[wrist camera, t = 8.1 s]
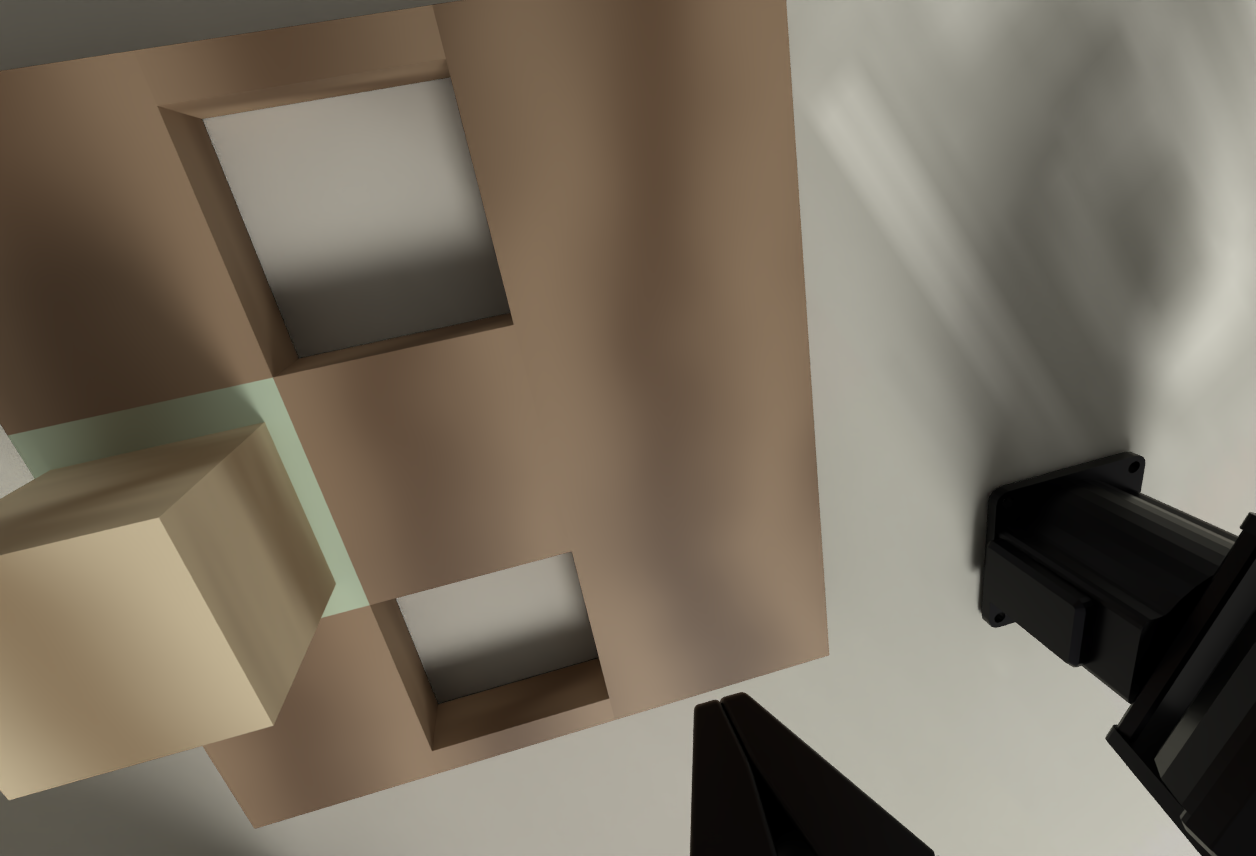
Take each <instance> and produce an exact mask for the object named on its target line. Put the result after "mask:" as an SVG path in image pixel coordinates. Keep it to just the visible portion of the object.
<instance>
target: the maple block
mask: <svg viewBox="0 0 1256 856" xmlns="http://www.w3.org/2000/svg"><path fill="white" fill-rule="evenodd" d="M335 585H336V582H335V580H334V578H333V575H332V573H331V571H330V569H329V566H328V564H327V562H326V560H325V557H324V555H323V553H322V550H321V548H320V546H319V544H318V541H317V539H316V537H315V535H314V532H313V530H312V528H311V526H310V523H309V521H308V519H307V517H306V514H305V512H304V510H303V507H302V505H301V503H300V501H299V498H298V496H297V494H296V492H295V489H294V487H293V485H292V483H291V480H290V478H289V476H288V474H287V471H286V469H285V467H284V465H283V462H282V460H281V458H280V455H279V453H278V451H277V449H276V446H275V444H274V442H273V440H272V437H271V435H270V433H269V431H268V428H267V426H266V424H265V422H263V423H258V424H254V425H249V426H245V427H240V428H236V429H231V430H227V431H223V432H218V433H214V434H209V435H205V436H200V437H196V438H191V439H187V440H182V441H178V442H174V443H169V444H165V445H160V446H156V447H151V448H147V449H142V450H138V451H133V452H129V453H125V454H120V455H116V456H111V457H107V458H102V459H98V460H93V461H89V462H84V463H80V464H76V465H71V466H67V467H62V468H58V469H53V470H49V471H48V472H46V473H44V474H43V475H41V476H39V477H37V478H36V479H34V480H32V481H31V482H29V483H27V484H25V485H24V486H22V487H20V488H18V489H17V490H15V491H13V492H12V493H10V494H8V495H6V496H5V497H3V498H1V499H0V790H1V792H2V793H3V794H4V795H5V796H6V798H7V799H8V800H12V799H15V798H19V797H22V796H26V795H30V794H33V793H37V792H40V791H44V790H47V789H51V788H54V787H58V786H61V785H65V784H69V783H72V782H76V781H79V780H83V779H86V778H90V777H93V776H97V775H100V774H104V773H107V772H111V771H115V770H118V769H122V768H125V767H129V766H132V765H136V764H139V763H143V762H146V761H150V760H154V759H157V758H161V757H164V756H168V755H171V754H175V753H178V752H182V751H185V750H189V749H193V748H196V747H200V746H203V745H207V744H210V743H214V742H217V741H221V740H224V739H228V738H232V737H235V736H239V735H242V734H246V733H249V732H253V731H256V730H260V729H263V728H267V727H270V726H274V723H275V721H276V719H277V717H278V714H279V712H280V710H281V708H282V705H283V703H284V701H285V699H286V696H287V694H288V692H289V689H290V687H291V685H292V683H293V680H294V678H295V676H296V674H297V671H298V669H299V667H300V665H301V662H302V660H303V658H304V656H305V653H306V651H307V649H308V647H309V644H310V642H311V640H312V637H313V635H314V633H315V631H316V628H317V626H318V624H319V622H320V619H321V617H322V615H323V613H324V610H325V608H326V606H327V604H328V601H329V599H330V597H331V595H332V592H333V590H334V588H335Z"/></svg>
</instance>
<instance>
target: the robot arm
mask: <svg viewBox="0 0 1256 856" xmlns="http://www.w3.org/2000/svg"><path fill="white" fill-rule="evenodd" d="M1144 468H1145V459H1144V457H1142V456H1140V455H1138V454H1135V453H1132V452H1124V453H1120V454H1116V455H1113V456H1109V457H1106V458H1102V459H1098V460H1095V461H1091V462H1088V463H1084V464H1080V465H1077V466H1073V467H1069V468H1066V469H1062V470H1059V471H1055V472H1051V473H1048V474H1044V475H1041V476H1037V477H1033V478H1030V479H1026V480H1022V481H1019V482H1015V483H1012V484H1008V485H1004V486H1001V487H999V488H996V489H995V490H994V491H993V492H992V493H991V495H990V497H989V500H988V516H987V533H986V550H985V568H984V585H983V603H982V618H983V619H984V620H985V621H986V622H987V623H988V624H989V625H990V626H992V627H995V628H996V627H1001V626H1004V625H1007V624H1011V623H1014V622H1016V623H1017V624H1019V625H1020V626H1021V627H1022V628H1024V629H1025V630H1026V631H1027V632H1028V633H1030V634H1031V635H1032V636H1033V637H1035V638H1036V639H1037V640H1038V641H1040V642H1041V643H1042V644H1043V645H1045V646H1046V647H1047V648H1048V649H1049V650H1051V651H1052V652H1053V653H1054V654H1056V655H1057V656H1058V657H1059V658H1061V659H1062V660H1063V661H1064V662H1066V663H1067V664H1069V665H1071V666H1072V667H1079V666H1083V667H1084V668H1085V669H1087V670H1088V671H1089V672H1090V673H1092V674H1093V675H1094V676H1095V677H1097V678H1098V679H1099V680H1100V681H1102V682H1103V683H1104V684H1106V685H1107V686H1108V687H1109V688H1111V689H1112V690H1113V691H1114V692H1116V693H1117V694H1118V695H1119V696H1121V697H1122V698H1123V699H1124V700H1126V701H1127V702H1128V703H1130V704H1131V705H1130V707H1129V708H1128V710H1127V711H1126V713H1125V714H1124V716H1123V717H1122V719H1121V721H1120V722H1119V724H1118V725H1113V726H1112V728H1111V729H1110V731H1109V733H1108V734H1107V736H1106V738H1105V739H1106V740H1107V742H1108V743H1109V744H1110V745H1111V747H1112V748H1113V749H1114V750H1115V751H1116V753H1117V754H1118V755H1119V756H1120V757H1121V759H1122V760H1123V761H1124V762H1125V764H1126V765H1127V766H1128V767H1129V769H1130V770H1131V771H1132V772H1133V773H1134V775H1135V776H1136V777H1137V778H1138V779H1139V781H1140V782H1141V783H1142V784H1143V786H1144V787H1145V788H1146V789H1147V790H1148V792H1149V793H1150V794H1151V795H1152V796H1153V798H1154V799H1155V800H1156V801H1157V802H1158V804H1159V805H1160V806H1161V807H1162V809H1163V810H1164V811H1165V812H1166V813H1167V815H1168V816H1169V817H1170V818H1171V819H1172V821H1173V822H1174V823H1175V824H1176V826H1177V827H1178V828H1179V829H1180V830H1181V832H1182V833H1183V834H1184V835H1185V836H1186V838H1187V839H1188V840H1189V841H1190V843H1191V844H1192V845H1193V846H1194V847H1195V849H1196V850H1197V851H1198V852H1199V853H1200V854H1201V855H1202V856H1256V513H1252V512H1249V513H1248V515H1247V517H1246V518H1245V520H1244V521H1243V523H1242V524H1241V526H1240V527H1239V528H1240V529H1242V532H1241V533H1240V535H1239V537H1238V536H1236V535H1234V534H1232V533H1229V532H1227V531H1225V530H1223V529H1221V528H1218V527H1216V526H1214V525H1212V524H1209V523H1207V522H1205V521H1203V520H1200V519H1198V518H1196V517H1194V516H1191V515H1189V514H1187V513H1185V512H1183V511H1180V510H1178V509H1176V508H1174V507H1171V506H1169V505H1167V504H1165V503H1162V502H1160V501H1158V500H1156V499H1153V498H1151V497H1149V496H1147V495H1145V494H1142V493H1140V492H1141V486H1142V480H1143V474H1144ZM1004 499H1005V500H1004ZM690 856H935V854H934V851H933V850H932V849H931V848H930V847H928V846H927V845H926V844H925V843H924V842H922V841H921V840H920V839H919V838H918V837H916V836H915V835H914V834H913V833H912V832H911V831H909V830H908V829H907V828H906V827H905V826H903V825H902V824H901V823H900V822H899V821H897V820H896V819H895V818H894V817H893V816H892V815H890V814H889V813H888V812H887V811H886V810H884V809H883V808H882V807H881V806H880V805H878V804H877V803H876V802H875V801H874V800H873V799H871V798H870V797H869V796H868V795H867V794H865V793H864V792H863V791H862V790H861V789H859V788H858V787H857V786H856V785H855V784H854V783H852V782H851V781H850V780H849V779H848V778H846V777H845V776H844V775H843V774H842V773H840V772H839V771H838V770H837V769H836V768H835V767H833V766H832V765H831V764H830V763H829V762H827V761H826V760H825V759H824V758H823V757H821V756H820V755H819V754H818V753H817V752H816V751H814V750H813V749H812V748H811V747H810V746H808V745H807V744H806V743H805V742H804V741H802V740H801V739H800V738H799V737H798V736H797V735H795V734H794V733H793V732H792V731H791V730H789V729H788V728H787V727H786V726H785V725H783V724H782V723H781V722H780V721H779V720H778V719H776V718H775V717H774V716H773V715H772V714H770V713H769V712H768V711H767V710H766V709H764V708H763V707H762V706H761V705H760V704H759V703H757V702H756V701H755V700H754V699H753V698H751V697H750V696H749V695H748V694H746V693H743V692H740V693H736V694H733V695H729V696H726V697H723V698H722V699H721V700H720V702H719V701H718V700H712V701H709V702H705V703H702V704H698V705H696V706H695V708H694V728H693V764H692V800H691V837H690Z"/></svg>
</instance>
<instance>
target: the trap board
mask: <svg viewBox="0 0 1256 856" xmlns="http://www.w3.org/2000/svg"><path fill="white" fill-rule="evenodd" d="M449 77H451V81H452V85H453V89H454V93H455V96H456V100H457V104H458V108H459V112H460V116H461V120H462V124H463V128H464V132H465V136H466V139H467V143H468V147H469V151H470V155H471V159H472V163H473V167H474V171H475V175H476V179H477V182H478V186H479V190H480V194H481V198H482V202H483V206H484V210H485V214H486V218H487V222H488V226H489V229H490V233H491V237H492V241H493V245H494V249H495V253H496V257H497V261H498V265H499V269H500V272H501V276H502V280H503V284H504V288H505V292H506V296H507V300H508V304H509V308H510V312H511V313H507V314H503V315H498V316H493V317H489V318H484V319H480V320H475V321H470V322H466V323H461V324H456V325H452V326H447V327H443V328H438V329H433V330H429V331H424V332H419V333H415V334H410V335H405V336H401V337H396V338H392V339H387V340H382V341H378V342H373V343H368V344H364V345H359V346H355V347H350V348H345V349H341V350H336V351H331V352H327V353H322V354H317V355H313V356H308V357H304V358H298V356H297V354H296V351H295V349H294V346H293V344H292V341H291V339H290V336H289V334H288V331H287V329H286V326H285V324H284V321H283V319H282V316H281V314H280V311H279V309H278V306H277V304H276V302H275V299H274V297H273V294H272V292H271V289H270V287H269V284H268V282H267V279H266V277H265V274H264V272H263V269H262V267H261V264H260V262H259V259H258V257H257V254H256V252H255V249H254V247H253V245H252V242H251V240H250V237H249V235H248V232H247V230H246V227H245V225H244V222H243V220H242V217H241V215H240V212H239V210H238V207H237V205H236V202H235V200H234V197H233V195H232V192H231V190H230V188H229V185H228V183H227V180H226V178H225V175H224V173H223V170H222V168H221V165H220V163H219V160H218V158H217V155H216V153H215V150H214V148H213V145H212V143H211V140H210V138H209V135H208V133H207V131H206V128H205V126H204V123H203V121H202V119H204V118H210V117H216V116H222V115H228V114H234V113H240V112H246V111H252V110H258V109H264V108H270V107H276V106H282V105H288V104H294V103H300V102H306V101H312V100H318V99H324V98H330V97H336V96H342V95H348V94H354V93H360V92H366V91H372V90H377V89H383V88H389V87H395V86H401V85H407V84H413V83H419V82H425V81H431V80H437V79H443V78H449ZM263 422H265V424H266V426H267V428H268V431H269V433H270V435H271V437H272V440H273V442H274V444H275V446H276V449H277V451H278V453H279V455H280V458H281V460H282V462H283V465H284V467H285V469H286V471H287V474H288V476H289V478H290V480H291V483H292V485H293V487H294V489H295V492H296V494H297V496H298V498H299V501H300V503H301V505H302V507H303V510H304V512H305V514H306V517H307V519H308V521H309V523H310V526H311V528H312V530H313V532H314V535H315V537H316V539H317V541H318V544H319V546H320V548H321V550H322V553H323V555H324V557H325V560H326V562H327V564H328V566H329V569H330V571H331V573H332V575H333V578H334V580H335V582H336V585H335V588H334V590H333V592H332V595H331V597H330V599H329V601H328V604H327V606H326V608H325V610H324V613H323V615H322V617H321V619H320V622H319V624H318V626H317V628H316V631H315V633H314V635H313V637H312V640H311V642H310V644H309V647H308V649H307V651H306V653H305V656H304V658H303V660H302V662H301V665H300V667H299V669H298V671H297V674H296V676H295V678H294V680H293V683H292V685H291V687H290V689H289V692H288V694H287V696H286V699H285V701H284V703H283V705H282V708H281V710H280V712H279V714H278V717H277V719H276V721H275V723H274V726H270V727H267V728H263V729H260V730H256V731H253V732H249V733H246V734H242V735H239V736H235V737H232V738H228V739H224V740H221V741H217V742H214V743H210V744H207V745H203V747H204V749H205V751H206V752H207V754H208V755H209V757H210V759H211V760H212V762H213V763H214V765H215V767H216V768H217V770H218V771H219V773H220V775H221V776H222V778H223V779H224V781H225V783H226V784H227V786H228V787H229V789H230V791H231V792H232V794H233V795H234V797H235V798H236V800H237V802H238V803H239V805H240V806H241V808H242V810H243V811H244V813H245V814H246V816H247V818H248V819H249V821H250V822H251V824H252V826H253V827H254V829H256V828H259V827H262V826H266V825H269V824H272V823H276V822H279V821H282V820H286V819H289V818H292V817H295V816H299V815H302V814H305V813H309V812H312V811H315V810H319V809H322V808H325V807H329V806H332V805H335V804H338V803H342V802H345V801H348V800H352V799H355V798H358V797H362V796H365V795H368V794H372V793H375V792H378V791H381V790H385V789H388V788H391V787H395V786H398V785H401V784H405V783H408V782H411V781H415V780H418V779H421V778H424V777H428V776H431V775H434V774H438V773H441V772H444V771H448V770H451V769H454V768H458V767H461V766H464V765H467V764H471V763H474V762H477V761H481V760H484V759H487V758H491V757H494V756H497V755H501V754H504V753H507V752H510V751H514V750H517V749H520V748H524V747H527V746H530V745H534V744H537V743H540V742H544V741H547V740H550V739H553V738H557V737H560V736H563V735H567V734H570V733H573V732H577V731H580V730H583V729H587V728H590V727H593V726H597V725H600V724H603V723H606V722H610V721H613V720H616V719H620V718H623V717H626V716H630V715H633V714H636V713H640V712H643V711H646V710H649V709H653V708H656V707H659V706H663V705H666V704H669V703H673V702H676V701H679V700H683V699H686V698H689V697H692V696H696V695H699V694H702V693H706V692H709V691H712V690H716V689H719V688H722V687H726V686H729V685H732V684H735V683H739V682H742V681H745V680H749V679H752V678H755V677H759V676H762V675H765V674H769V673H772V672H775V671H778V670H782V669H785V668H788V667H792V666H795V665H798V664H802V663H805V662H808V661H812V660H815V659H818V658H821V657H825V656H828V655H829V644H828V629H827V614H826V599H825V583H824V568H823V553H822V538H821V523H820V508H819V492H818V477H817V462H816V447H815V432H814V416H813V401H812V386H811V371H810V356H809V341H808V325H807V310H806V295H805V280H804V265H803V250H802V234H801V219H800V204H799V189H798V174H797V158H796V143H795V128H794V113H793V98H792V83H791V67H790V52H789V37H788V22H787V7H786V0H461V1H454V2H448V3H441V4H435V5H428V6H422V7H415V8H409V9H402V10H395V11H389V12H382V13H376V14H369V15H363V16H356V17H350V18H343V19H337V20H330V21H324V22H317V23H310V24H304V25H297V26H291V27H284V28H278V29H271V30H265V31H258V32H252V33H245V34H239V35H232V36H226V37H219V38H212V39H206V40H199V41H193V42H186V43H180V44H173V45H167V46H160V47H154V48H147V49H141V50H134V51H127V52H121V53H114V54H108V55H101V56H95V57H88V58H82V59H75V60H69V61H62V62H56V63H49V64H42V65H36V66H29V67H23V68H16V69H10V70H3V71H0V424H1V426H2V427H3V429H4V430H5V432H6V434H7V435H8V437H9V438H10V440H11V442H12V443H13V445H14V446H15V448H16V450H17V451H18V453H19V454H20V456H21V458H22V459H23V461H24V462H25V464H26V465H27V467H28V469H29V470H30V472H31V473H32V475H33V477H34V478H35V479H36V478H37V477H39V476H41V475H43V474H44V473H46V472H48V471H49V470H53V469H58V468H62V467H67V466H71V465H76V464H80V463H84V462H89V461H93V460H98V459H102V458H107V457H111V456H116V455H120V454H125V453H129V452H133V451H138V450H142V449H147V448H151V447H156V446H160V445H165V444H169V443H174V442H178V441H182V440H187V439H191V438H196V437H200V436H205V435H209V434H214V433H218V432H223V431H227V430H231V429H236V428H240V427H245V426H249V425H254V424H258V423H263ZM571 551H572V554H573V558H574V562H575V566H576V570H577V574H578V578H579V582H580V585H581V589H582V593H583V597H584V601H585V605H586V609H587V613H588V617H589V621H590V625H591V628H592V632H593V636H594V640H595V644H596V648H597V652H598V656H599V658H597V659H594V660H590V661H587V662H583V663H580V664H576V665H573V666H569V667H566V668H562V669H559V670H556V671H552V672H549V673H545V674H542V675H538V676H535V677H531V678H528V679H524V680H521V681H517V682H514V683H511V684H507V685H504V686H500V687H497V688H493V689H490V690H486V691H483V692H479V693H476V694H472V695H469V696H466V697H462V698H459V699H455V700H452V701H448V702H445V703H441V704H438V703H437V700H436V698H435V695H434V693H433V690H432V688H431V686H430V683H429V681H428V678H427V676H426V673H425V671H424V668H423V666H422V663H421V661H420V658H419V656H418V653H417V651H416V648H415V646H414V643H413V641H412V638H411V636H410V634H409V631H408V629H407V626H406V624H405V621H404V619H403V616H402V614H401V611H400V609H399V606H398V604H397V601H396V599H395V598H398V597H402V596H406V595H410V594H413V593H417V592H421V591H425V590H428V589H432V588H436V587H440V586H443V585H447V584H451V583H455V582H458V581H462V580H466V579H470V578H474V577H477V576H481V575H485V574H489V573H492V572H496V571H500V570H504V569H507V568H511V567H515V566H519V565H522V564H526V563H530V562H534V561H537V560H541V559H545V558H549V557H552V556H556V555H560V554H564V553H567V552H571Z"/></svg>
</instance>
